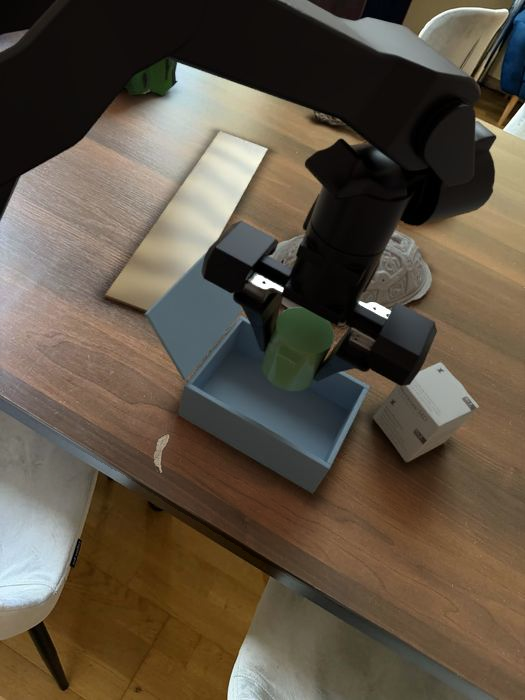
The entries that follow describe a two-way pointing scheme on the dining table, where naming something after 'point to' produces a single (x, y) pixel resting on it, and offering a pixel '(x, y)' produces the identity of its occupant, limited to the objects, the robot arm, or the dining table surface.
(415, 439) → the white cardboard box
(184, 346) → the flap
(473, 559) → the dining table surface
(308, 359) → the pot
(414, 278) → the turtle shell
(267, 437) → the carton
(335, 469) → the dining table surface
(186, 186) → the board
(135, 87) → the sculpture
